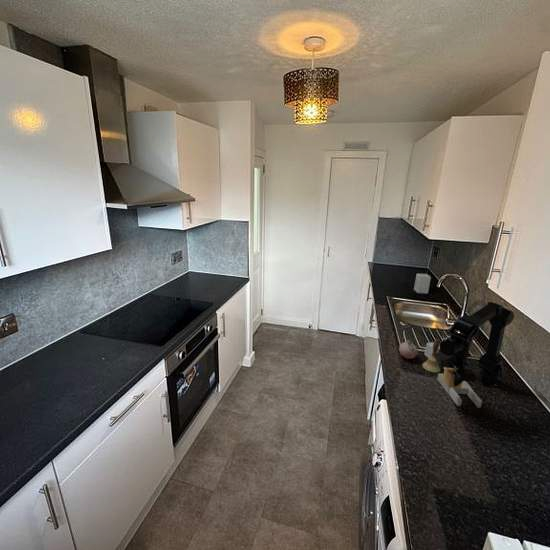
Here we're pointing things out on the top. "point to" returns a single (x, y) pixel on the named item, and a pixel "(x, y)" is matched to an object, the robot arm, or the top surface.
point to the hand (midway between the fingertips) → (451, 381)
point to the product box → (430, 349)
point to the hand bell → (432, 360)
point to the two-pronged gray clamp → (460, 392)
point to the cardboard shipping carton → (450, 378)
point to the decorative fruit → (408, 350)
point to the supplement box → (422, 283)
